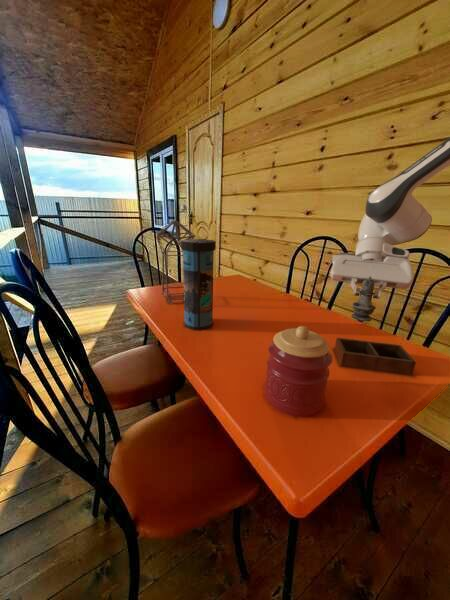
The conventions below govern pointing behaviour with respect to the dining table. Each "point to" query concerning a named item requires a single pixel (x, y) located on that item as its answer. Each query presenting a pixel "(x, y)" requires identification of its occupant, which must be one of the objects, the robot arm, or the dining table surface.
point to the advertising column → (198, 282)
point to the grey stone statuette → (364, 302)
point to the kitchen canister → (297, 372)
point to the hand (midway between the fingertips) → (366, 296)
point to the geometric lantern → (171, 255)
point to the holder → (374, 356)
